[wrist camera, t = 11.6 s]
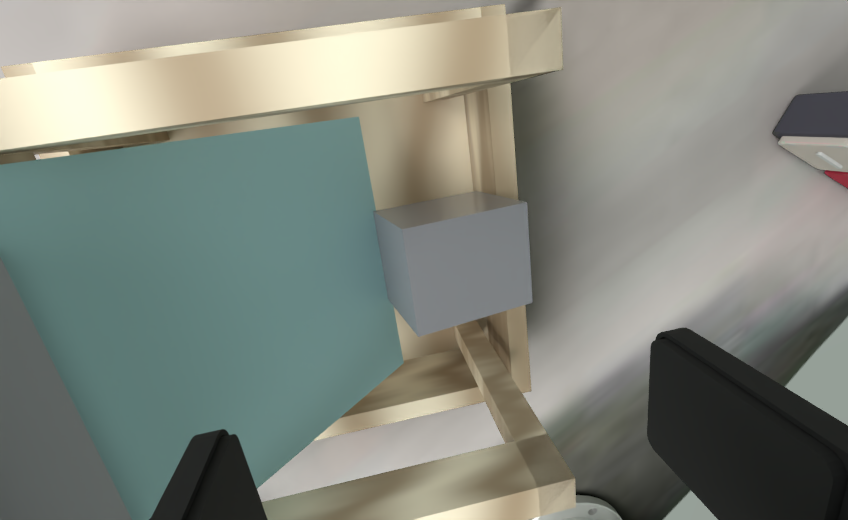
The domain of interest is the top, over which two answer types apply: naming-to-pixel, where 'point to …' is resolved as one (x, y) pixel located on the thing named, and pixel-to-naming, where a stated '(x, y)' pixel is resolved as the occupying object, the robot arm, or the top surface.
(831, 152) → the calculator
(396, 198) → the tan crate frame
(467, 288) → the basalt block
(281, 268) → the hatch
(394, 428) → the top surface
